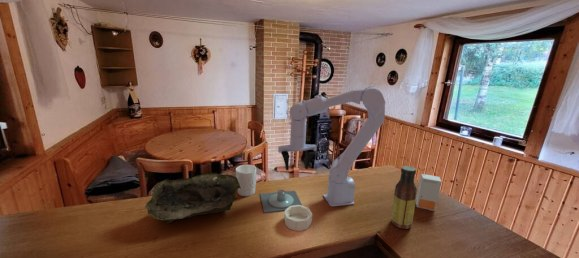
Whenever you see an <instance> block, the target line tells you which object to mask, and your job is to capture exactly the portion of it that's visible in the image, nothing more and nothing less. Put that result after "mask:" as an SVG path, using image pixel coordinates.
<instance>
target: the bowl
mask: <svg viewBox="0 0 579 258" xmlns="http://www.w3.org/2000/svg"><path fill="white" fill-rule="evenodd" d="M283 212H284V213H283V215H284V216H283V220H284V225H285V226H286V228H287V229H289V230H290V231H294V232H304V231H306V230H308V229H310V227H311V224H312V223H313V213H312V211H311V209H310V207H308V206H304V205H303V204H302V205H293V206H289V207H288V208H287V209H286V210H285V211H283Z"/></svg>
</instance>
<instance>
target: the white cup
mask: <svg viewBox="0 0 579 258" xmlns="http://www.w3.org/2000/svg"><path fill="white" fill-rule="evenodd" d="M235 177H237V179H238V182H239V184H240V187H241V188H239V189H238V190H237V194H238V195H239V196H242V197H249V196H253V195H254V194H255V193H256V186H257V185H256V183H257V167H256V166H255V165H253V164H242V165H239V166H236V168H235Z"/></svg>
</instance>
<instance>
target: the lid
mask: <svg viewBox="0 0 579 258" xmlns="http://www.w3.org/2000/svg"><path fill="white" fill-rule="evenodd" d="M285 191H286V190H284V189H278V190H277V191H276V192H277V194H273V195H271V196H270V197H269V204H270V205H271V206H273V207H276V208H287V207H289V206H291V205H292V204H293V202H294V199H293V197H292V196H290V195H289V194H285Z"/></svg>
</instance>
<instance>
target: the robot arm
mask: <svg viewBox="0 0 579 258" xmlns="http://www.w3.org/2000/svg"><path fill="white" fill-rule="evenodd" d="M361 102H362V105H363V106H364V107H365V109H366V111H367V115H368V118H366V120H365V122H364V123H363V124H362V126H361V127H360V128H359V130H358V131H357V132H356V134H355V136H354V137H353V138H352V139H351V141H350V143H349V144H348V145H347V147H346V148H345V150H344V151H343V152H342V153H341V154H340V155H339V156H338V157H337V158H335V159H333V161H332V163H331V168H330V170H329V174H328V180H327V181H328V183H327V193H324V194H323V195H322V196H323V198H324V199H325V200H326V202H327V203H328V205H329V206H330V207H338V206H339V207H340V206H349V205H355V201H354V200H355V198H354V197H355V191H356V183H355V181H354V178H352V177H351V176H348V175H349V172H350V171H351V168H352V167H353V165H354V163H355V161H356V160H357V158H358V157H359V156H360V154H362V152H363V150H364V149H365V148H366V146H367V145H368V144H369V142H370V141H371V139H373V137H374V136H375V134H376V133H377V131H378V130H379V129H380V127H381V126H382V125H383V124H384V122H385V120H386V117H385V116H386V114H385V113H386V100H385V98H384V94H383V93H382V91H381V90H380V89H379V88H378V87H376V86H367V87H366V88H365V87H360V88H356V89H351V90H348V91H345V92H342V93H340V94H336V95H333V96H331V97H325V96H323V95H321V96H320V95H318V94H317V95H315V96H314V98H311V99H307V100H305V99H303V100H301V101H299V102H296V103H294V104H293V105H292V106H291V107H290V108H289V115H290V117H291V118H290V119H291V120H290V121H291V122H290V134H289V135H290V138H289V139H290V140H289V144H286V145H278V146H277V152H278V153H279V154H280V153H281V155H282V159H283V161H284V165H285V167H284V168H285V170H286V171H290V170H289V163H290V154H289V152H290V153H291V152H304V168H305V169H306V170H308V168H309V166H310V163H311V160H312V159H313V158H314V156H315V152H316V151H317V149H318V148H317V145H316V144H311V143H310V144H307V143H306V140H307V139H306V137H307V135H306V134H307V117H312V116H316V115H318V114H319V115H320V114H322V113H326V112H327V111H328V110H329V108H331V107H335V106H336V107H337V106H340V105H343V104H346V103H353V104H354V103H355V104H357V105H361Z"/></svg>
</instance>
